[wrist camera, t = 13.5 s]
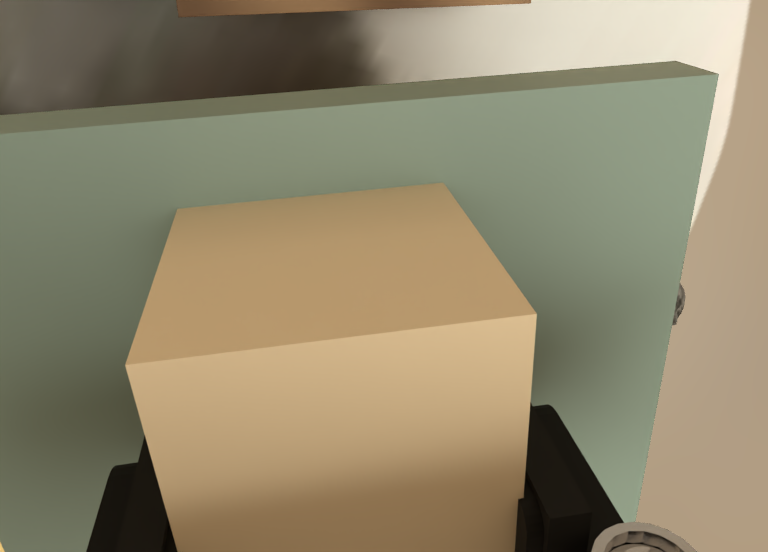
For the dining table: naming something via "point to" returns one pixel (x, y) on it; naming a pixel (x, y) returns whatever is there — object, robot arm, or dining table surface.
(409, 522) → the lid
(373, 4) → the brown wooden block
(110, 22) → the dining table surface
